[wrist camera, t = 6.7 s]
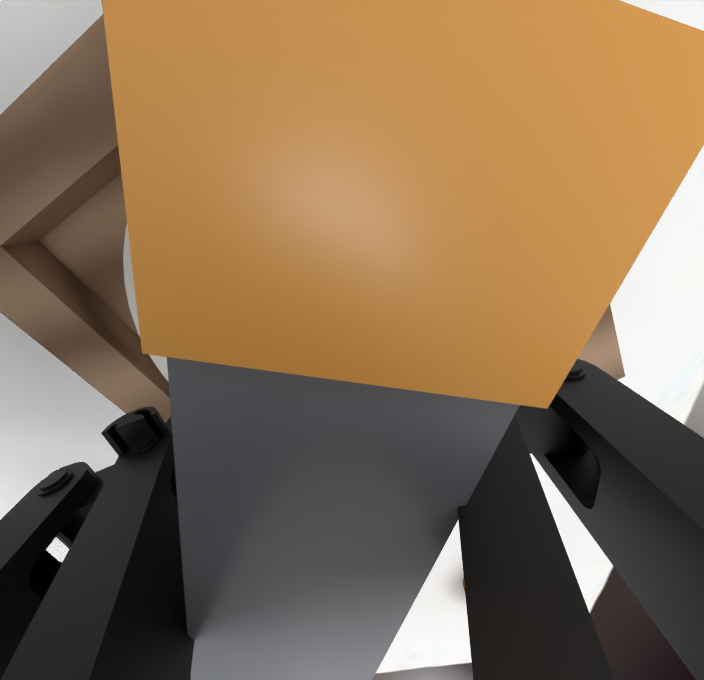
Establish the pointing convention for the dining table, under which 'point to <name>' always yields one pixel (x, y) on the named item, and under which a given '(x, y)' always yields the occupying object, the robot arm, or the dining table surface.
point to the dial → (371, 275)
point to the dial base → (94, 232)
